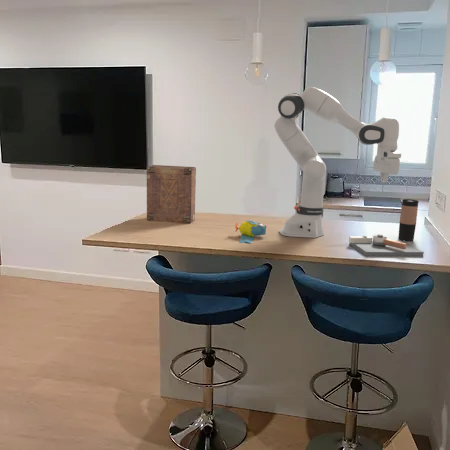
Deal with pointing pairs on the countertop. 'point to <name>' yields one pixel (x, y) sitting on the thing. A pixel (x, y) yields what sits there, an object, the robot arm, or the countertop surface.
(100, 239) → the countertop surface
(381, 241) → the multicoloured piece
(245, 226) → the yellow and blue toy
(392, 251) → the stand
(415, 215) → the travel mug
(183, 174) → the book
